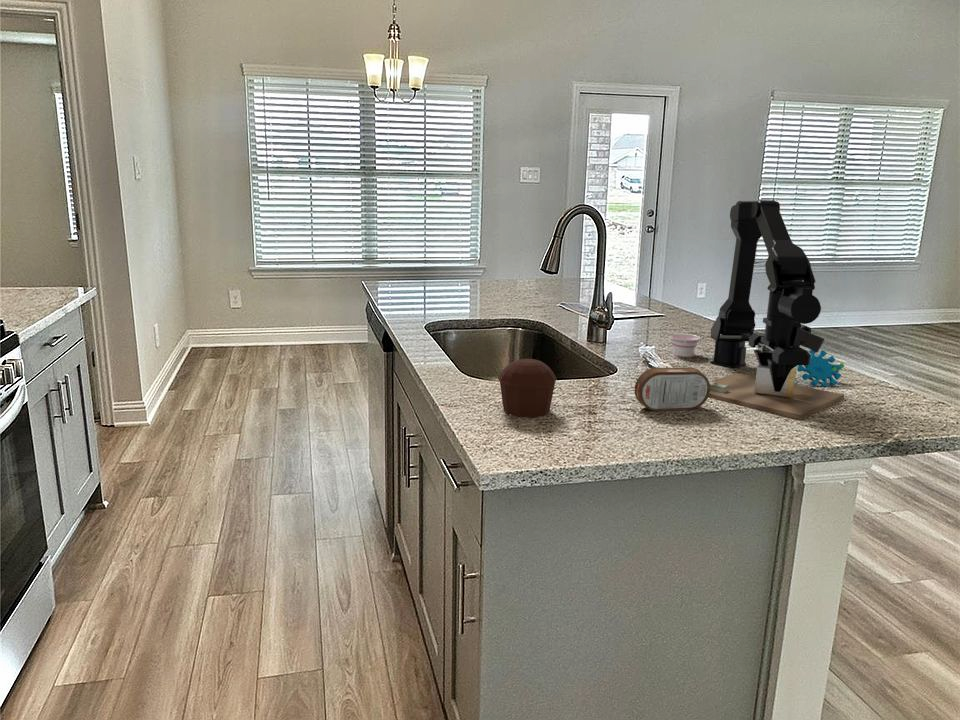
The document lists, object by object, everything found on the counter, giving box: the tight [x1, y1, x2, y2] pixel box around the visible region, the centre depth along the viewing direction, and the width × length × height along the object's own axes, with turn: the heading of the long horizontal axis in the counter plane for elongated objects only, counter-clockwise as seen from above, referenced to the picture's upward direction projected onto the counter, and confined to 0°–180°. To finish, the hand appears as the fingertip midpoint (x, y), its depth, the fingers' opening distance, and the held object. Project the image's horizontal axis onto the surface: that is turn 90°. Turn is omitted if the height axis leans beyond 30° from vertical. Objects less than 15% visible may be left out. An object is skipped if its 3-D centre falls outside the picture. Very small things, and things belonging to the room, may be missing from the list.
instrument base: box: [708, 372, 845, 421], centre depth 149 cm, size 24×22×3 cm
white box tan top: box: [754, 363, 797, 398], centre depth 146 cm, size 7×3×6 cm, turn 62°
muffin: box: [497, 358, 558, 419], centre depth 135 cm, size 12×11×10 cm
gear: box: [796, 349, 845, 388], centre depth 160 cm, size 11×6×10 cm
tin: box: [633, 367, 710, 412], centre depth 138 cm, size 15×3×8 cm, turn 99°
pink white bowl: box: [669, 333, 702, 358], centre depth 182 cm, size 12×12×6 cm
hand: (773, 388), depth 147 cm, fingers closed on white box tan top, 4 cm apart
